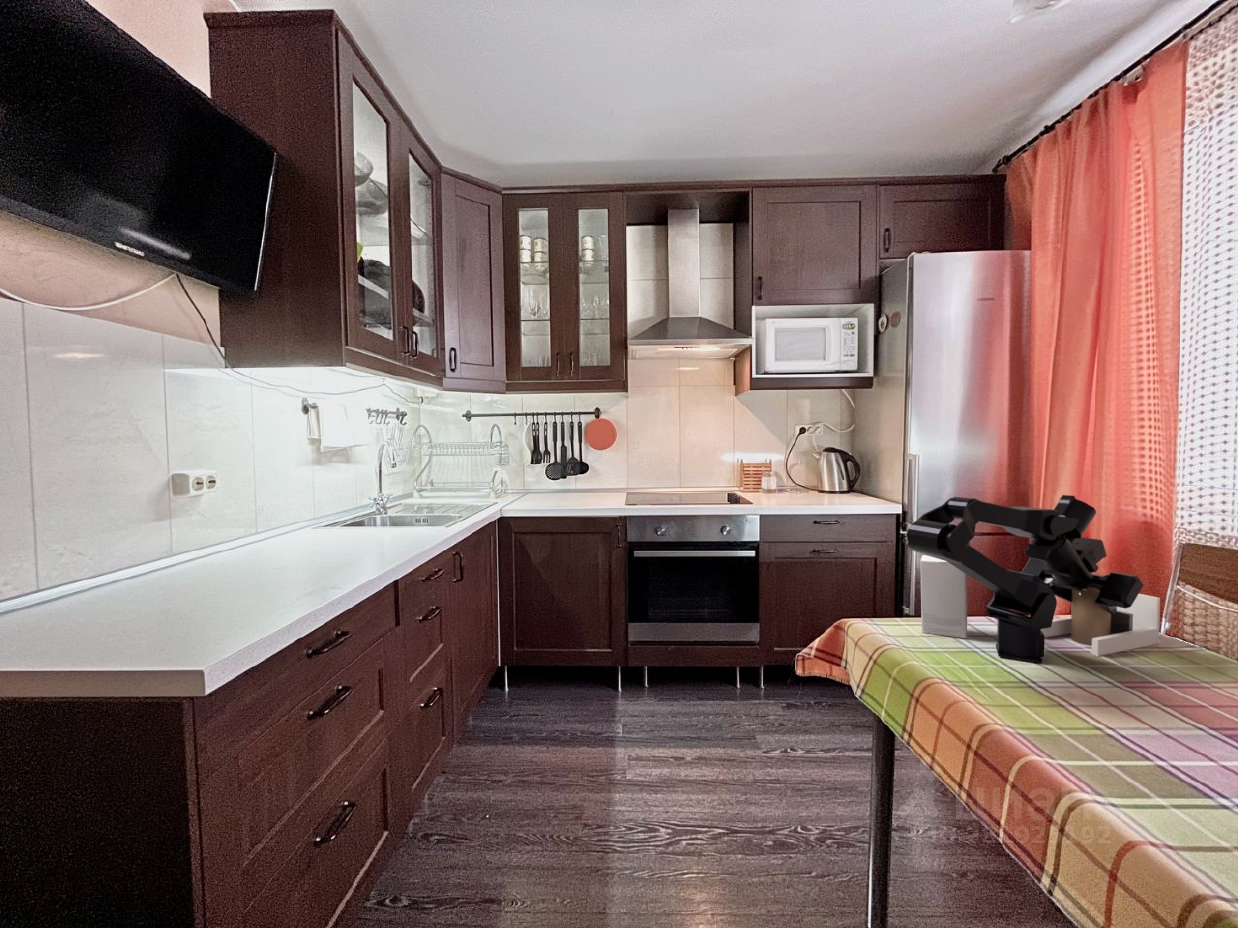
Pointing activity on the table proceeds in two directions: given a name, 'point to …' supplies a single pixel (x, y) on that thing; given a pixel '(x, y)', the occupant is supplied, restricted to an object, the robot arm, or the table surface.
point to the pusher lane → (1142, 634)
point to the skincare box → (943, 598)
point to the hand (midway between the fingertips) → (1095, 607)
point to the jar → (1088, 616)
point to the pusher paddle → (1121, 622)
